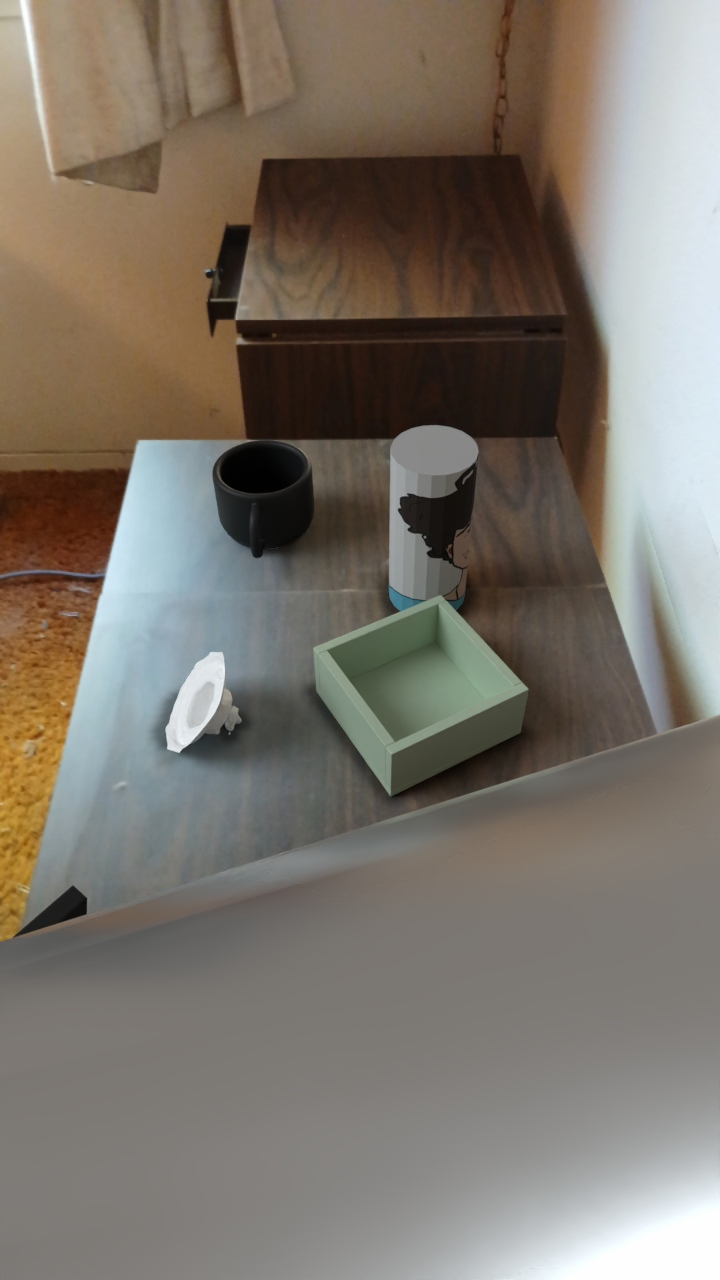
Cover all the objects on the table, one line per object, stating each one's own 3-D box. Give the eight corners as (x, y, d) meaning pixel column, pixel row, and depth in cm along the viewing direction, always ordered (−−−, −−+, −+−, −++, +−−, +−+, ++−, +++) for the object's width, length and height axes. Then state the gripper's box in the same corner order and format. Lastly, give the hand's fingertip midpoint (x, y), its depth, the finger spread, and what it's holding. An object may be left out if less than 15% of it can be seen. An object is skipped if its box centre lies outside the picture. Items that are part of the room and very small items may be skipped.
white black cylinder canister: (463, 622, 76) (477, 478, 65) (385, 616, 77) (386, 472, 66) (465, 569, 81) (479, 427, 70) (392, 565, 81) (394, 422, 71)
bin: (520, 732, 68) (529, 689, 64) (390, 797, 64) (391, 754, 60) (437, 638, 75) (441, 594, 71) (315, 691, 71) (312, 647, 67)
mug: (228, 498, 89) (219, 437, 83) (319, 500, 88) (315, 438, 83) (209, 580, 80) (198, 517, 75) (309, 582, 80) (304, 519, 75)
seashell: (223, 765, 71) (234, 769, 63) (158, 746, 70) (161, 748, 62) (253, 669, 72) (268, 662, 64) (190, 649, 71) (197, 639, 63)
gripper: (-673, 1374, 24) (-14, 860, 38) (-75, 2351, 18) (461, 1304, 31) (-886, 1353, 19) (-28, 762, 33) (-141, 2747, 12) (541, 1275, 26)
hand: (213, 1028), depth 32 cm, fingers open, 13 cm apart
